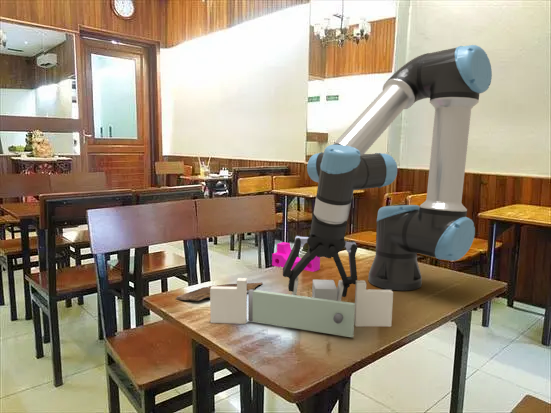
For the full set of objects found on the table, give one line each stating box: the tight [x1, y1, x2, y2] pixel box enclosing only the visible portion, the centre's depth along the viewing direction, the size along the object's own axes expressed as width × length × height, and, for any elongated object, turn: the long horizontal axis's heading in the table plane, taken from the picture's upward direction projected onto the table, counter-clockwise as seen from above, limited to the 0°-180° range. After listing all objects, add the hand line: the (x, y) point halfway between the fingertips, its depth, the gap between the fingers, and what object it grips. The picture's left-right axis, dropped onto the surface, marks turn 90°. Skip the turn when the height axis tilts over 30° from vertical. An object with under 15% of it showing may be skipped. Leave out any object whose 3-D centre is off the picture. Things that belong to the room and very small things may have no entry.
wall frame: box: [209, 277, 394, 328], centre depth 94 cm, size 41×2×10 cm, turn 89°
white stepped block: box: [311, 279, 338, 301], centre depth 96 cm, size 5×12×8 cm, turn 0°
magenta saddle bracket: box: [271, 241, 321, 273], centre depth 139 cm, size 15×6×8 cm, turn 52°
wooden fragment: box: [175, 282, 263, 302], centre depth 115 cm, size 26×11×1 cm, turn 120°
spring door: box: [247, 289, 355, 338], centre depth 90 cm, size 24×3×7 cm, turn 70°
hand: (314, 304), depth 98 cm, fingers open, 10 cm apart
